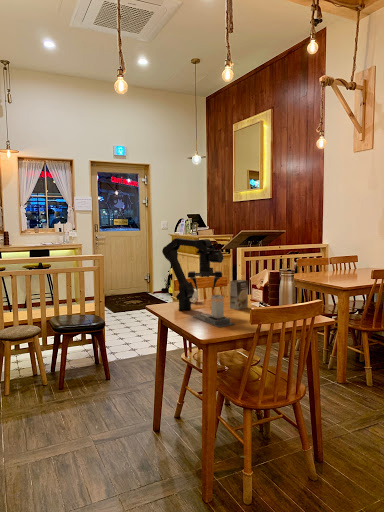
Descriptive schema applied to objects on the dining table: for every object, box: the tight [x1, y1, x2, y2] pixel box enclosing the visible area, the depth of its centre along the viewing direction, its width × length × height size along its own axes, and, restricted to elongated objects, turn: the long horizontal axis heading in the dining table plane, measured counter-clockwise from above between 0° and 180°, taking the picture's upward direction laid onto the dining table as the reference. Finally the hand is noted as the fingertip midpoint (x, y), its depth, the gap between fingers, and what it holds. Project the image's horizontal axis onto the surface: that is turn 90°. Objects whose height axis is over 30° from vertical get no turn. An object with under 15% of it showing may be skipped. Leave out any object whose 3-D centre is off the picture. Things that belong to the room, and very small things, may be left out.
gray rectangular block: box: [210, 294, 225, 320], centre depth 188 cm, size 5×5×13 cm
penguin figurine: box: [190, 288, 199, 304], centre depth 236 cm, size 6×8×12 cm
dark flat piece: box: [192, 313, 235, 328], centre depth 192 cm, size 24×9×2 cm, turn 31°
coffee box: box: [229, 279, 249, 311], centre depth 219 cm, size 9×6×16 cm
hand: (205, 289), depth 207 cm, fingers open, 9 cm apart
